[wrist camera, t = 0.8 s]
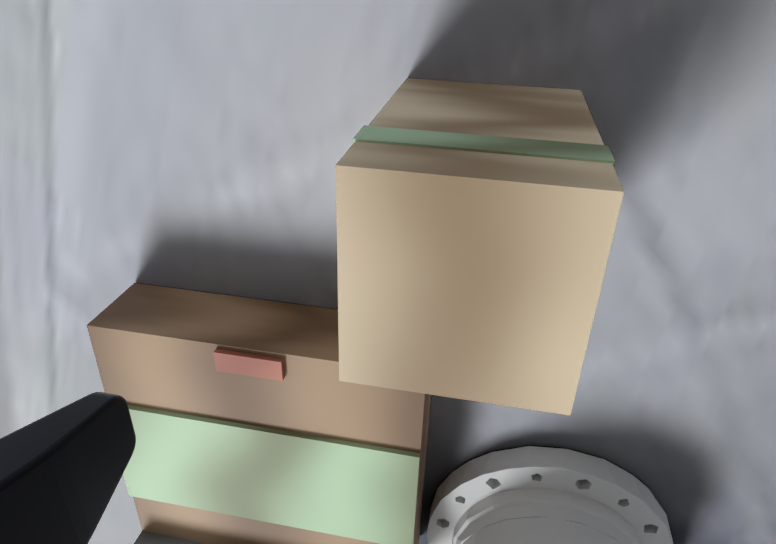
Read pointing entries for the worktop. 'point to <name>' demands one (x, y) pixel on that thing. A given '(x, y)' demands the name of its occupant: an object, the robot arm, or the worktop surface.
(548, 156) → the tan green-striped carton
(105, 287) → the worktop surface
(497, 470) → the mechanical component
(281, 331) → the open box
